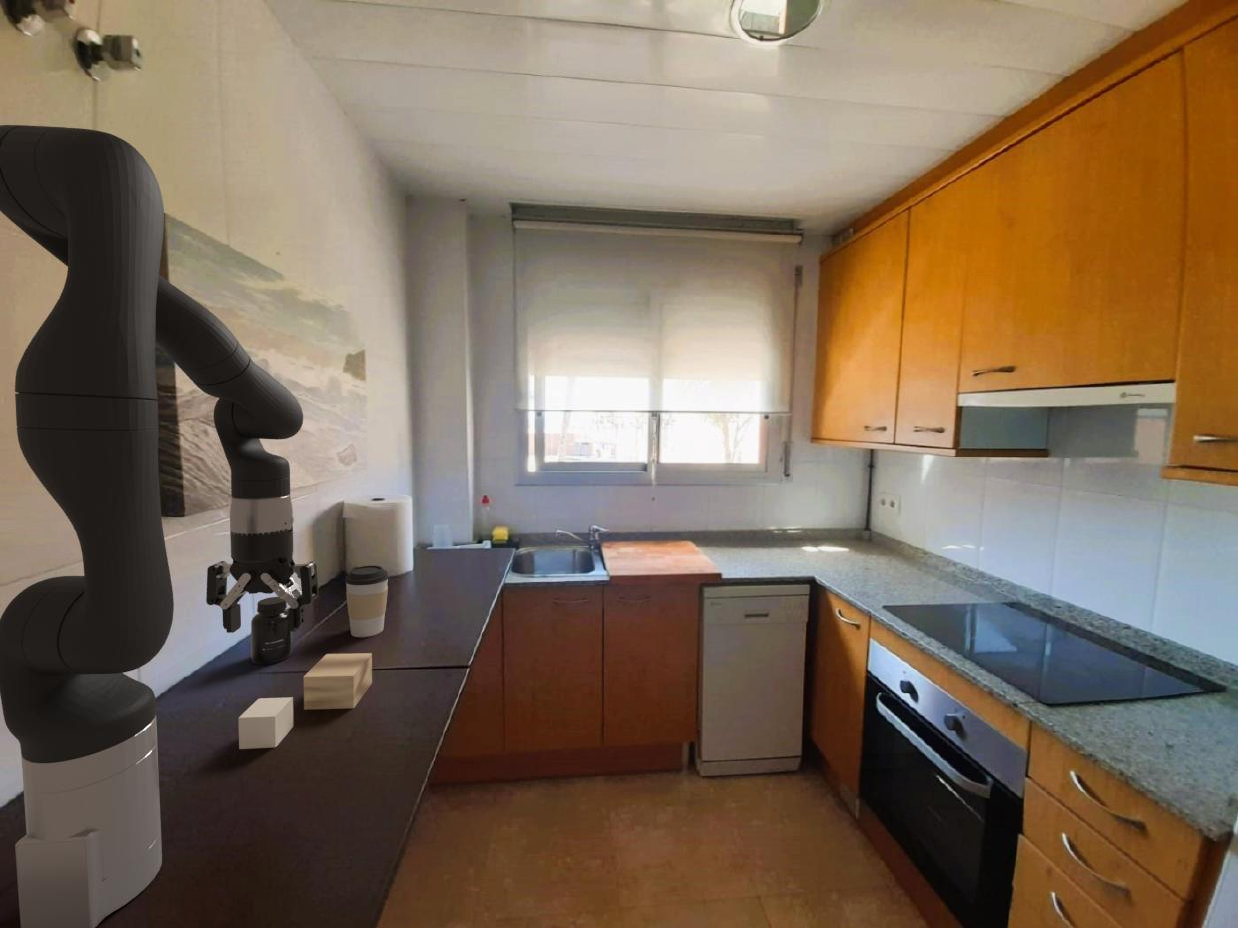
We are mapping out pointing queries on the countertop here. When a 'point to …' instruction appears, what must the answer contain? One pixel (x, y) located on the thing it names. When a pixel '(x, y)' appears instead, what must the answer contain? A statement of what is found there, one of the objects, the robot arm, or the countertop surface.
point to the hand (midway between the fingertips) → (265, 630)
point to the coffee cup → (366, 599)
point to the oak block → (338, 681)
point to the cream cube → (265, 723)
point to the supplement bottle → (270, 632)
